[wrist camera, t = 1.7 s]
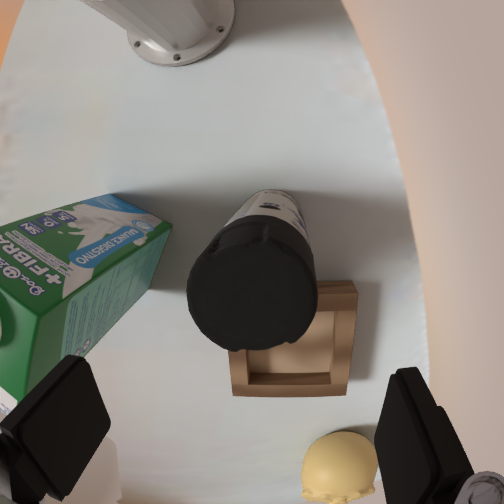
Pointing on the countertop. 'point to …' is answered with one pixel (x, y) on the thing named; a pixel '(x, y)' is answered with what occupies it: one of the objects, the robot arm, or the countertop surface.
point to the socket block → (304, 353)
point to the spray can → (256, 277)
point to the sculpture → (339, 468)
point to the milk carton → (69, 284)
